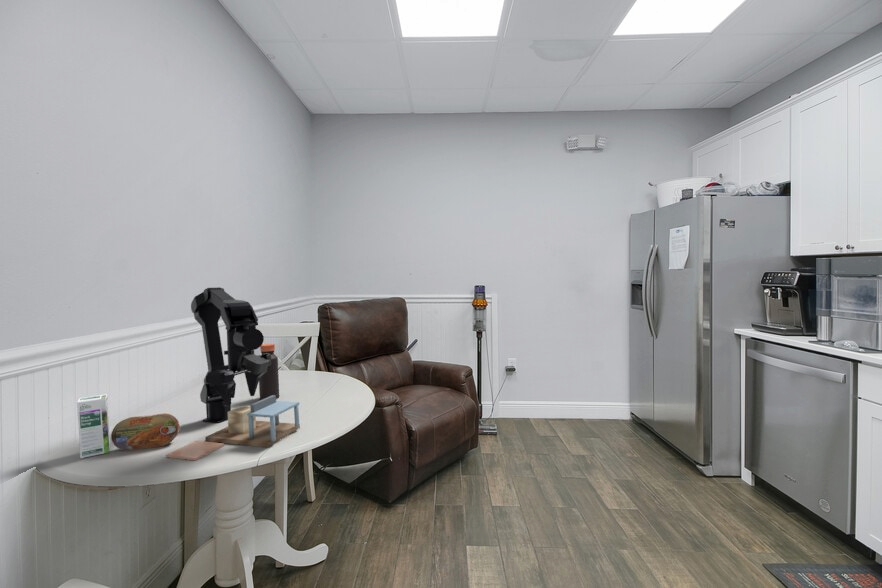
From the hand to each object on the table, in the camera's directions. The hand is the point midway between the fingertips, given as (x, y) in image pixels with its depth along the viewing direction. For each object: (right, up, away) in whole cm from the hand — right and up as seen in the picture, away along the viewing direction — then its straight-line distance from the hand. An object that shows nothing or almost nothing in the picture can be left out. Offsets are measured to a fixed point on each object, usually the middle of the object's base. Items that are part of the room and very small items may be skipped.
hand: (240, 400), depth 116 cm
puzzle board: (+4, -9, -1) cm, 10 cm away
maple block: (0, -10, 0) cm, 10 cm away
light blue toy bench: (+11, -8, -3) cm, 14 cm away
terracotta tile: (-6, -10, -11) cm, 16 cm away
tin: (-21, -11, -7) cm, 25 cm away
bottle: (-7, -9, +35) cm, 37 cm away
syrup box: (-33, -11, -10) cm, 36 cm away
